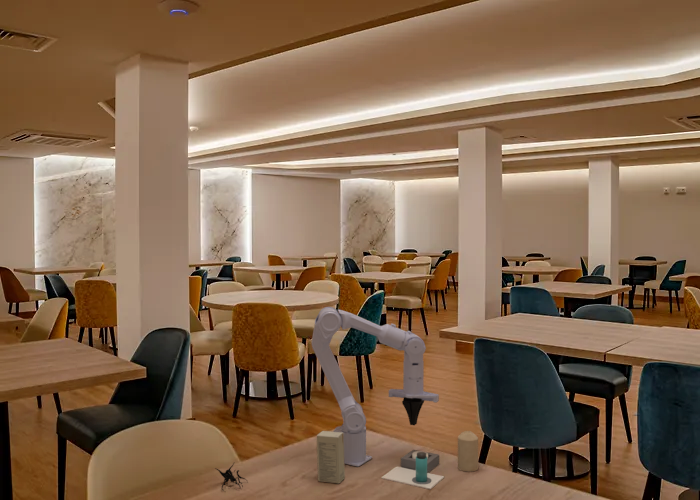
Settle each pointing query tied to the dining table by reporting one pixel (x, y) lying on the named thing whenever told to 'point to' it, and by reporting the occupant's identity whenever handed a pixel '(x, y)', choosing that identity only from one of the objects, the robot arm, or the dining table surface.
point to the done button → (416, 454)
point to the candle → (468, 451)
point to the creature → (230, 476)
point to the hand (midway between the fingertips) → (413, 424)
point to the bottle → (421, 467)
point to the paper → (411, 477)
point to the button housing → (411, 463)
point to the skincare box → (330, 456)
